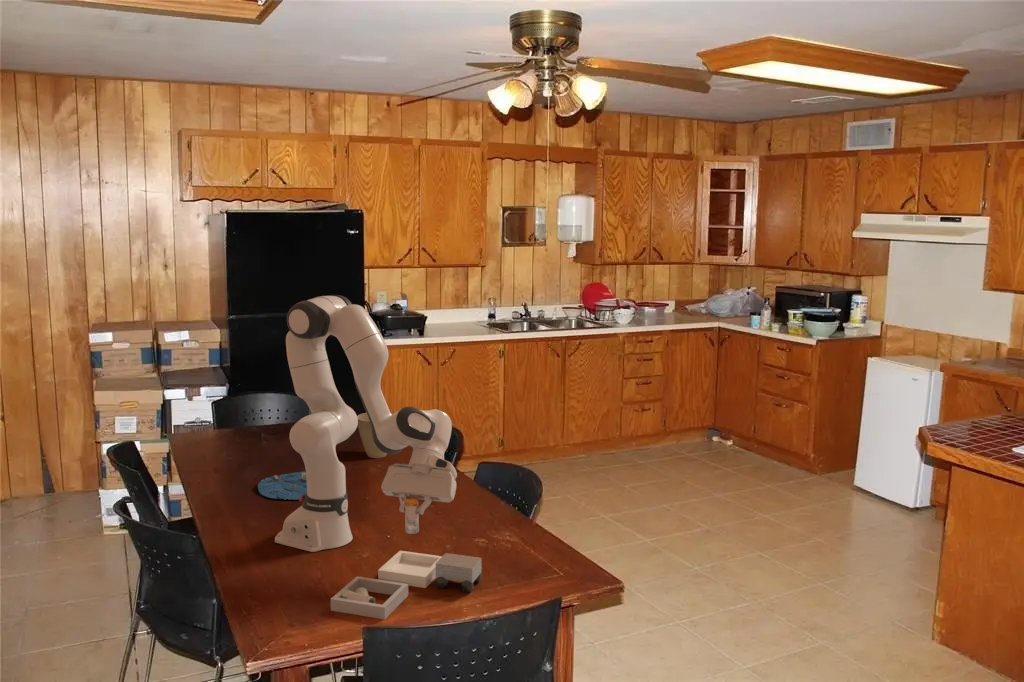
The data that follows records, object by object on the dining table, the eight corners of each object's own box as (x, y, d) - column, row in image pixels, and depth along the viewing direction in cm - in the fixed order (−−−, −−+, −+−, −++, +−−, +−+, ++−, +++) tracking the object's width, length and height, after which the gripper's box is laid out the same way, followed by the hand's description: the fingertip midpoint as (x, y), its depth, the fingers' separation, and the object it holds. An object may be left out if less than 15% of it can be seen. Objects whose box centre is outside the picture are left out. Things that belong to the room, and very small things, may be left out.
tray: (378, 580, 220) (378, 570, 220) (400, 560, 233) (399, 550, 232) (425, 588, 216) (425, 577, 216) (445, 567, 229) (445, 556, 228)
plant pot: (355, 451, 336) (354, 413, 334) (392, 448, 341) (391, 410, 338) (360, 462, 322) (359, 422, 320) (398, 459, 327) (398, 419, 324)
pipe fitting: (358, 598, 212) (340, 606, 206) (358, 583, 211) (341, 591, 206) (383, 605, 208) (366, 614, 202) (384, 590, 208) (367, 598, 202)
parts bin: (330, 610, 204) (330, 598, 203) (357, 587, 216) (356, 576, 216) (384, 619, 199) (384, 607, 199) (408, 595, 212) (408, 584, 212)
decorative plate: (354, 479, 308) (355, 465, 307) (329, 506, 278) (329, 491, 278) (276, 473, 310) (276, 459, 310) (243, 499, 281) (243, 484, 280)
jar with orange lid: (403, 532, 221) (402, 500, 220) (408, 528, 225) (408, 495, 223) (415, 534, 220) (414, 501, 219) (420, 529, 224) (420, 497, 222)
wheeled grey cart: (435, 588, 216) (434, 564, 215) (455, 566, 230) (455, 543, 229) (471, 593, 213) (471, 569, 212) (489, 570, 227) (489, 548, 226)
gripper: (386, 456, 229) (371, 502, 222) (456, 463, 223) (443, 511, 216) (394, 467, 234) (379, 513, 227) (462, 474, 228) (449, 521, 221)
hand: (410, 512), depth 221 cm, fingers closed on jar with orange lid, 3 cm apart
